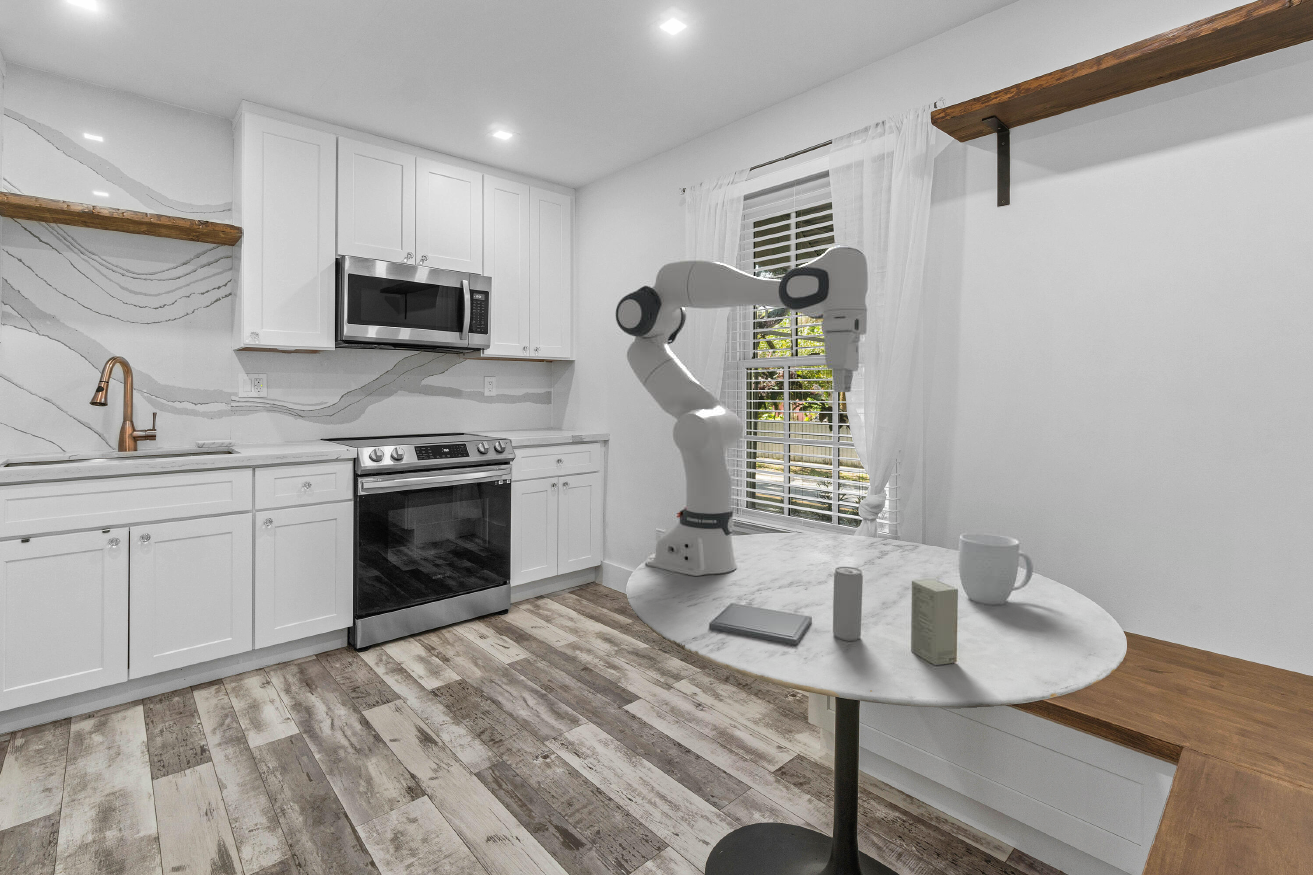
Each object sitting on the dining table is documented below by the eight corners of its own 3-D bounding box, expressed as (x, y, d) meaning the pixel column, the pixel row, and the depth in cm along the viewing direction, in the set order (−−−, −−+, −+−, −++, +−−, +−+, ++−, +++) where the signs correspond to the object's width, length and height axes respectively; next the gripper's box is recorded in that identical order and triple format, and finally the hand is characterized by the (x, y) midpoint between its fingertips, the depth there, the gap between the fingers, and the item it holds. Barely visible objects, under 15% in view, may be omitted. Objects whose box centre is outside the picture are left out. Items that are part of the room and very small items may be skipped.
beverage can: (846, 643, 105) (848, 575, 104) (826, 633, 109) (828, 568, 109) (866, 638, 107) (869, 572, 106) (846, 629, 112) (848, 565, 111)
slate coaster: (709, 628, 111) (709, 622, 111) (731, 607, 122) (731, 602, 122) (796, 645, 104) (796, 639, 104) (811, 621, 115) (811, 616, 115)
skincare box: (957, 663, 98) (960, 589, 97) (933, 666, 97) (937, 591, 96) (930, 647, 104) (933, 577, 103) (908, 650, 103) (910, 579, 102)
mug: (1013, 591, 134) (1016, 532, 133) (1047, 609, 123) (1050, 545, 122) (946, 591, 133) (949, 532, 132) (974, 609, 123) (977, 545, 121)
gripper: (837, 331, 139) (836, 392, 140) (819, 321, 121) (818, 391, 122) (866, 330, 136) (864, 392, 137) (852, 320, 118) (851, 392, 119)
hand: (842, 392), depth 129 cm, fingers open, 8 cm apart
